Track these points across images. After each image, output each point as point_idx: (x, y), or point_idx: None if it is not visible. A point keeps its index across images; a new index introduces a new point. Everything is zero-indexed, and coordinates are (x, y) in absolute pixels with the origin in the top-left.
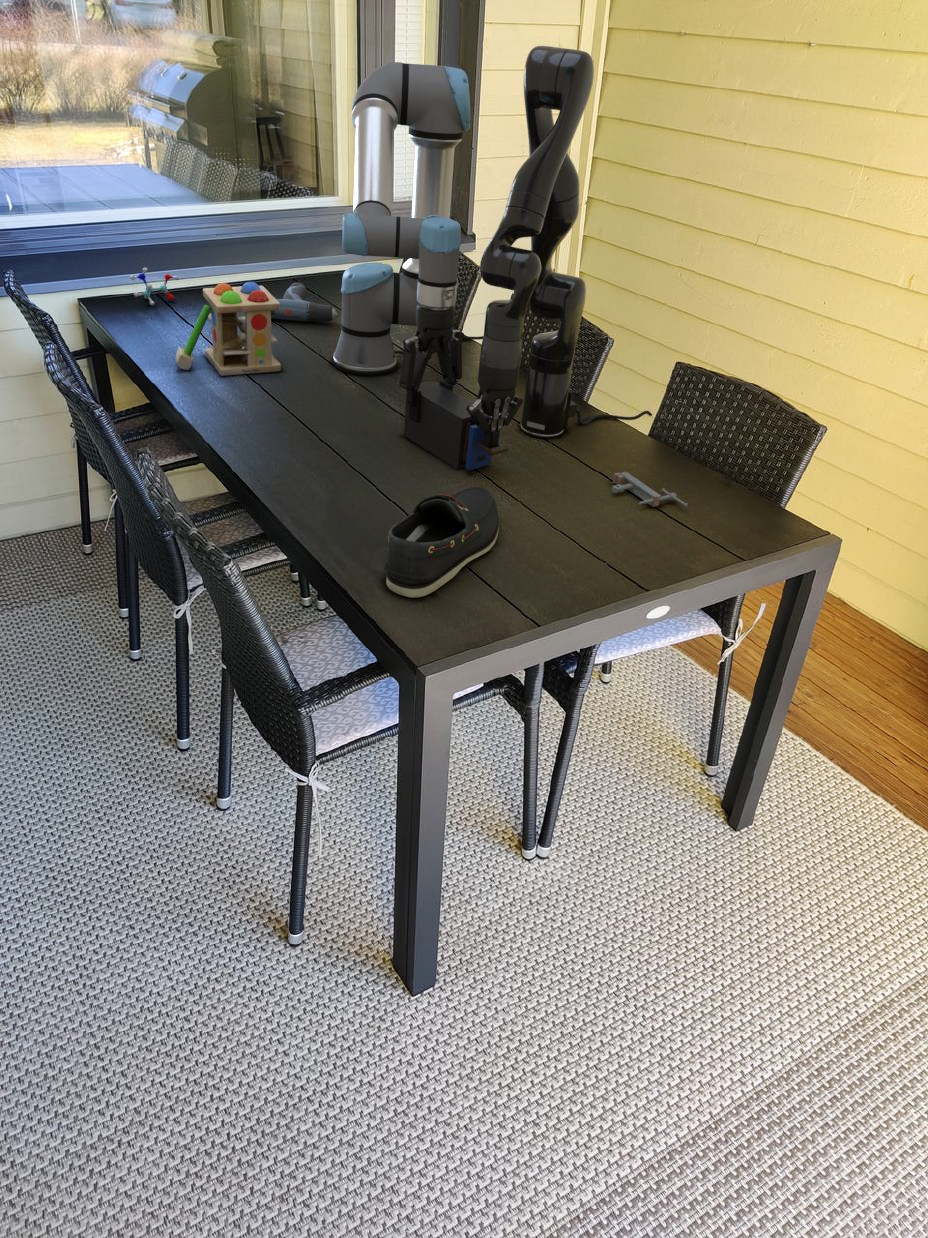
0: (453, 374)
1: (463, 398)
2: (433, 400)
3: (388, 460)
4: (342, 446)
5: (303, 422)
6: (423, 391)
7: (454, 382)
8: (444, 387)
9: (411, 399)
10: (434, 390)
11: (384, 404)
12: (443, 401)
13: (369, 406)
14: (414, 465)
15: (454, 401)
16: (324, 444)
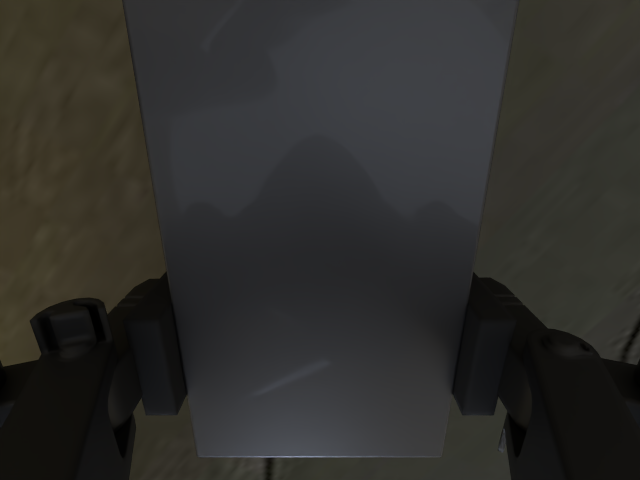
0: (17, 405)
1: (141, 38)
2: (472, 152)
3: (578, 140)
4: (605, 311)
5: None
6: (400, 346)
7: (74, 317)
8: (184, 334)
9: (524, 308)
10: (302, 325)
11: (273, 470)
12: (399, 80)
13: (322, 476)
14: (535, 39)
15: (290, 15)
16: (634, 347)
